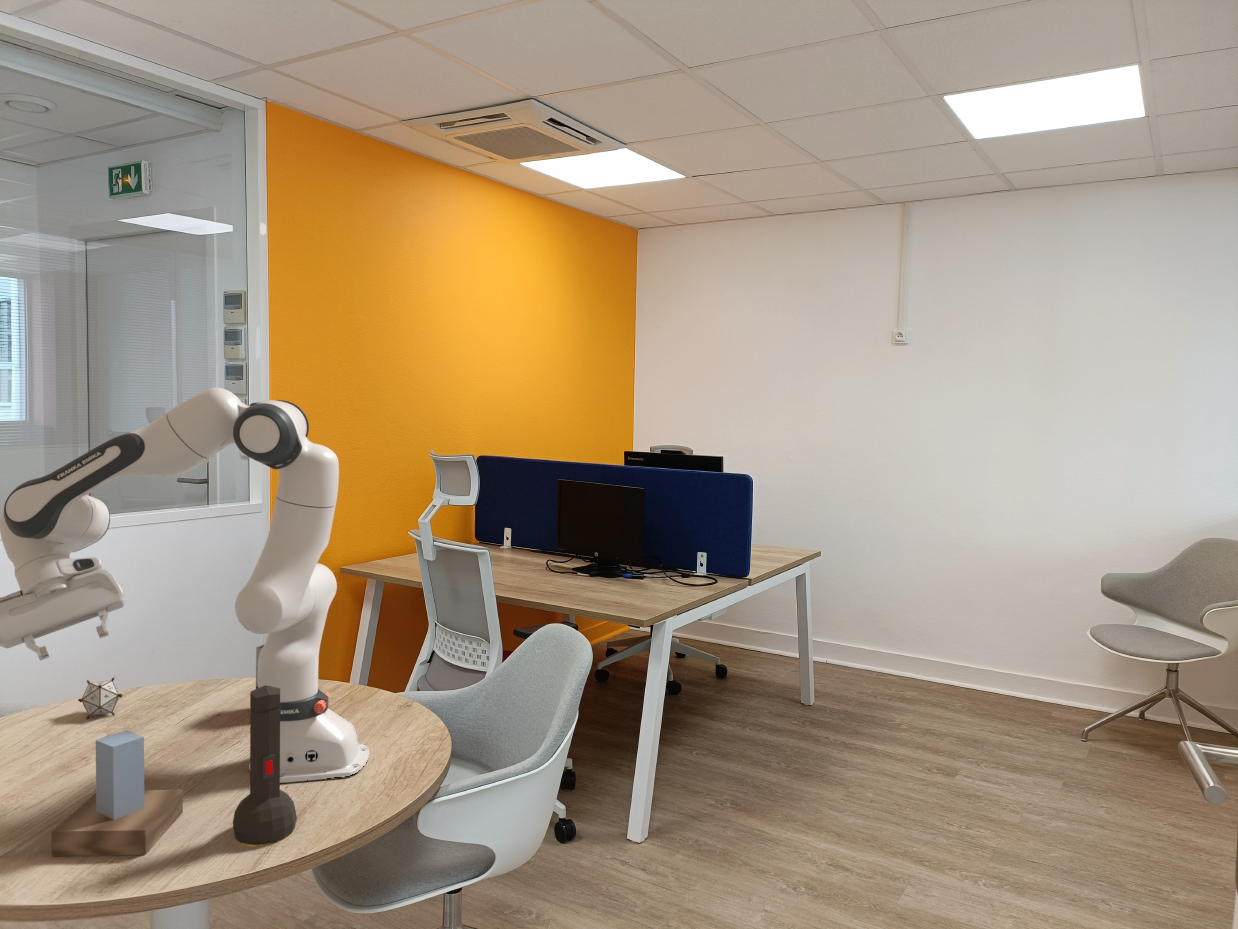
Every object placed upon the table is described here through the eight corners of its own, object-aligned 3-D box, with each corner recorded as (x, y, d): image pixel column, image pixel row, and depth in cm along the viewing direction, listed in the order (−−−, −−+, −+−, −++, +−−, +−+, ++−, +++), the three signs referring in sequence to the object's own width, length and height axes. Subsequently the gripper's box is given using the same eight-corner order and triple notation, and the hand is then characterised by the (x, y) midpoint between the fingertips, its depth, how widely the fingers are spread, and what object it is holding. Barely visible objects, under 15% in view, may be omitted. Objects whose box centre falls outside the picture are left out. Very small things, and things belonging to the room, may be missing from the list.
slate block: (126, 799, 144) (126, 730, 143) (144, 807, 142) (143, 737, 141) (96, 811, 140) (95, 740, 139) (113, 819, 137) (113, 747, 136)
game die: (105, 734, 190) (103, 707, 184) (69, 719, 190) (66, 692, 184) (132, 702, 197) (131, 676, 191) (97, 688, 197) (96, 662, 191)
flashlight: (226, 826, 144) (240, 852, 136) (226, 681, 142) (240, 699, 134) (287, 811, 150) (303, 836, 142) (288, 672, 148) (304, 688, 140)
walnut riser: (182, 812, 148) (182, 789, 148) (145, 854, 135) (145, 830, 134) (98, 813, 147) (97, 790, 147) (51, 856, 133) (51, 831, 133)
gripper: (-23, 596, 148) (3, 665, 144) (108, 554, 160) (135, 617, 156) (-16, 610, 153) (9, 678, 149) (111, 568, 165) (137, 630, 161)
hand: (74, 646), depth 152 cm, fingers open, 8 cm apart
